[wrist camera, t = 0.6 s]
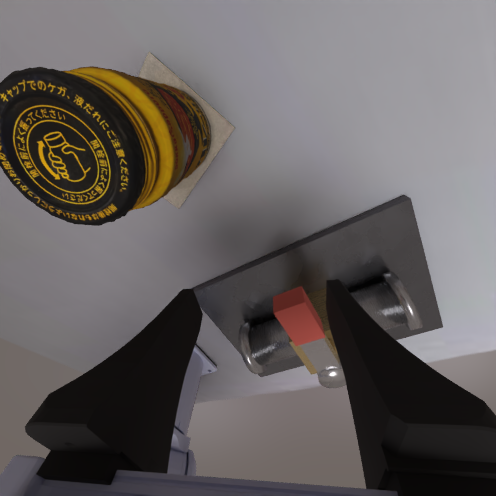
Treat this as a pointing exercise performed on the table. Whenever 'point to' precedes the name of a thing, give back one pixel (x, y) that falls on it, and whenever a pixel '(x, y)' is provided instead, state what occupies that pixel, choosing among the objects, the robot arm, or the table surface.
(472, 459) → the robot arm
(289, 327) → the valve lever
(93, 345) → the table surface
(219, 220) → the table surface
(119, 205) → the condiment
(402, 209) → the valve body
